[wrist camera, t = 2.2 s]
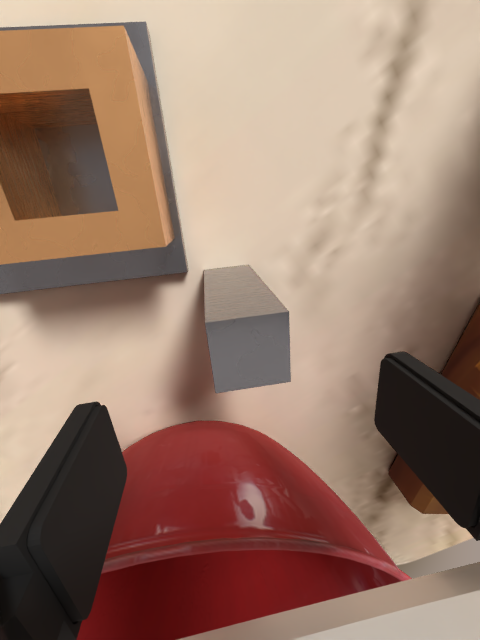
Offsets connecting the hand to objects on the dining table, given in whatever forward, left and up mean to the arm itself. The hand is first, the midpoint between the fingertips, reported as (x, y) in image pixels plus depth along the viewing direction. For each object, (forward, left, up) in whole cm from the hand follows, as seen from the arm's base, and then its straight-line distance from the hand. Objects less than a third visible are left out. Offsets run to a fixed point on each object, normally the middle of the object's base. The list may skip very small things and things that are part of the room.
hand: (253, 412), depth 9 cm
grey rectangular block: (-1, 0, -14) cm, 14 cm away
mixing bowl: (+4, +20, -15) cm, 25 cm away
